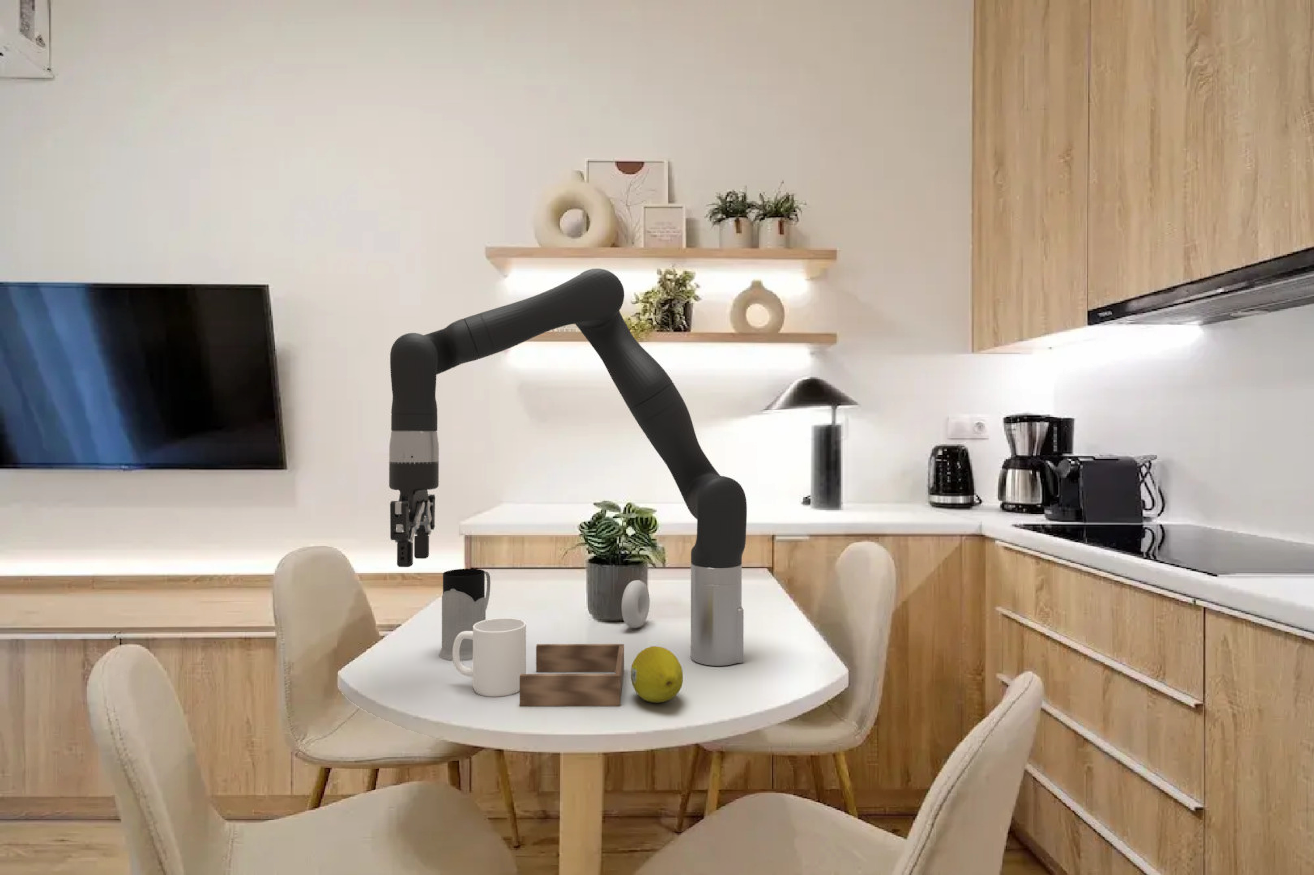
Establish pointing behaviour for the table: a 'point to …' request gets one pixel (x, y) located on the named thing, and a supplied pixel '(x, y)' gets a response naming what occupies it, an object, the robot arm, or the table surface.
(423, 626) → the table surface
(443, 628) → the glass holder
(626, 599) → the donut
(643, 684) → the lemon
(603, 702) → the wooden box
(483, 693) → the cup
